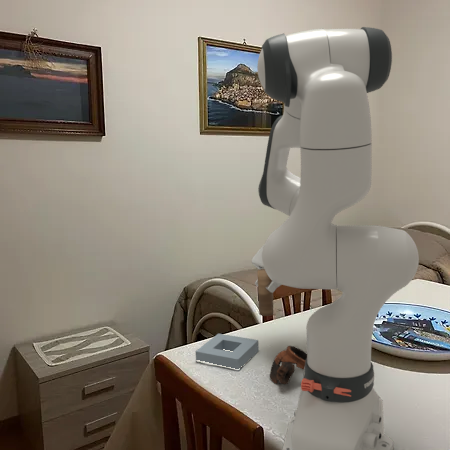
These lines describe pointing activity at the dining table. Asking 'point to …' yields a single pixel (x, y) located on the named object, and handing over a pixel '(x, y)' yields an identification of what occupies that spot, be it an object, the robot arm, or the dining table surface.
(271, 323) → the dining table surface
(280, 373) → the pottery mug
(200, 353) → the socket block
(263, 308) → the peg
